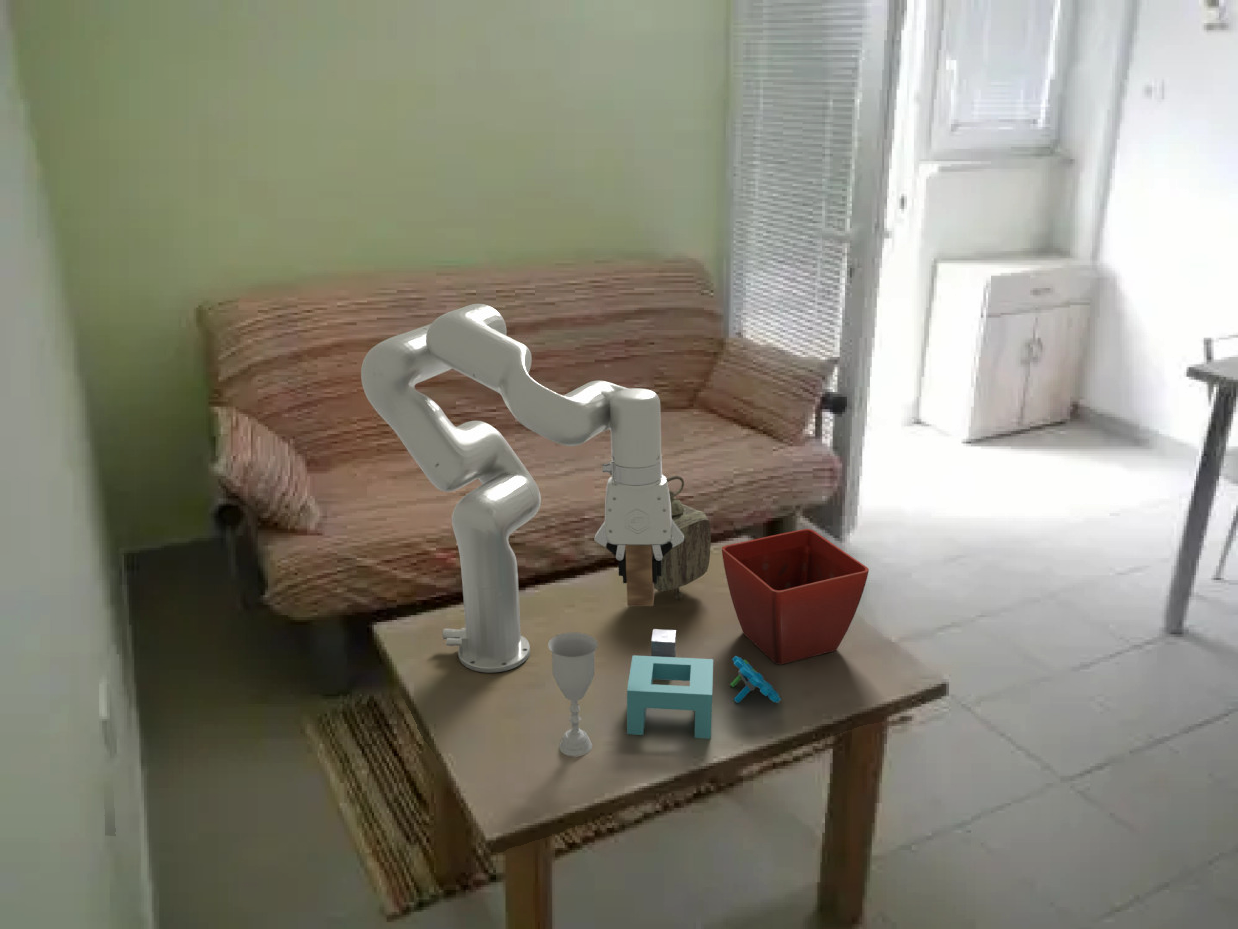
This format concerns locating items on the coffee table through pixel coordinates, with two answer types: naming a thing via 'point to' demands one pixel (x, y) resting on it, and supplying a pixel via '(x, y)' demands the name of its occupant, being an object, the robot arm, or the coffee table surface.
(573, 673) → the chalice
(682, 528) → the tabletop clock
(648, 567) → the walnut pin
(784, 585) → the plant pot
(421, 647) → the coffee table surface
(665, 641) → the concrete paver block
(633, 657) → the bridge block
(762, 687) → the gear
